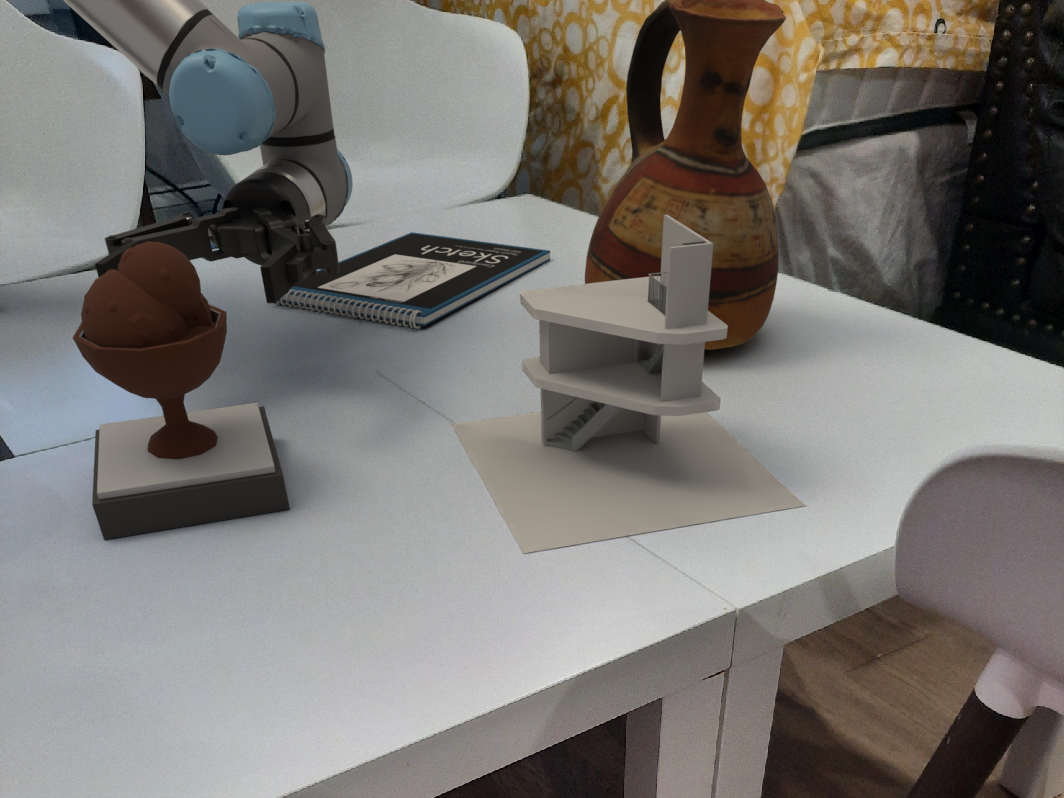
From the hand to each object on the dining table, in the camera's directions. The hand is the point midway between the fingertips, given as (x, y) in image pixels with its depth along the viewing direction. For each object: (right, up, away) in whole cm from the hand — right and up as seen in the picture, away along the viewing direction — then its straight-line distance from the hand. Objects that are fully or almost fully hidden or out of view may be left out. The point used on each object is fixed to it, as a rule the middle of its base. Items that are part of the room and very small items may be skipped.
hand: (185, 283), depth 79 cm
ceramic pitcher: (+43, +6, +28) cm, 51 cm away
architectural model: (+34, -13, +5) cm, 37 cm away
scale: (0, -15, +4) cm, 16 cm away
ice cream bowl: (-1, -12, +1) cm, 13 cm away
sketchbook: (+13, +19, +45) cm, 50 cm away
